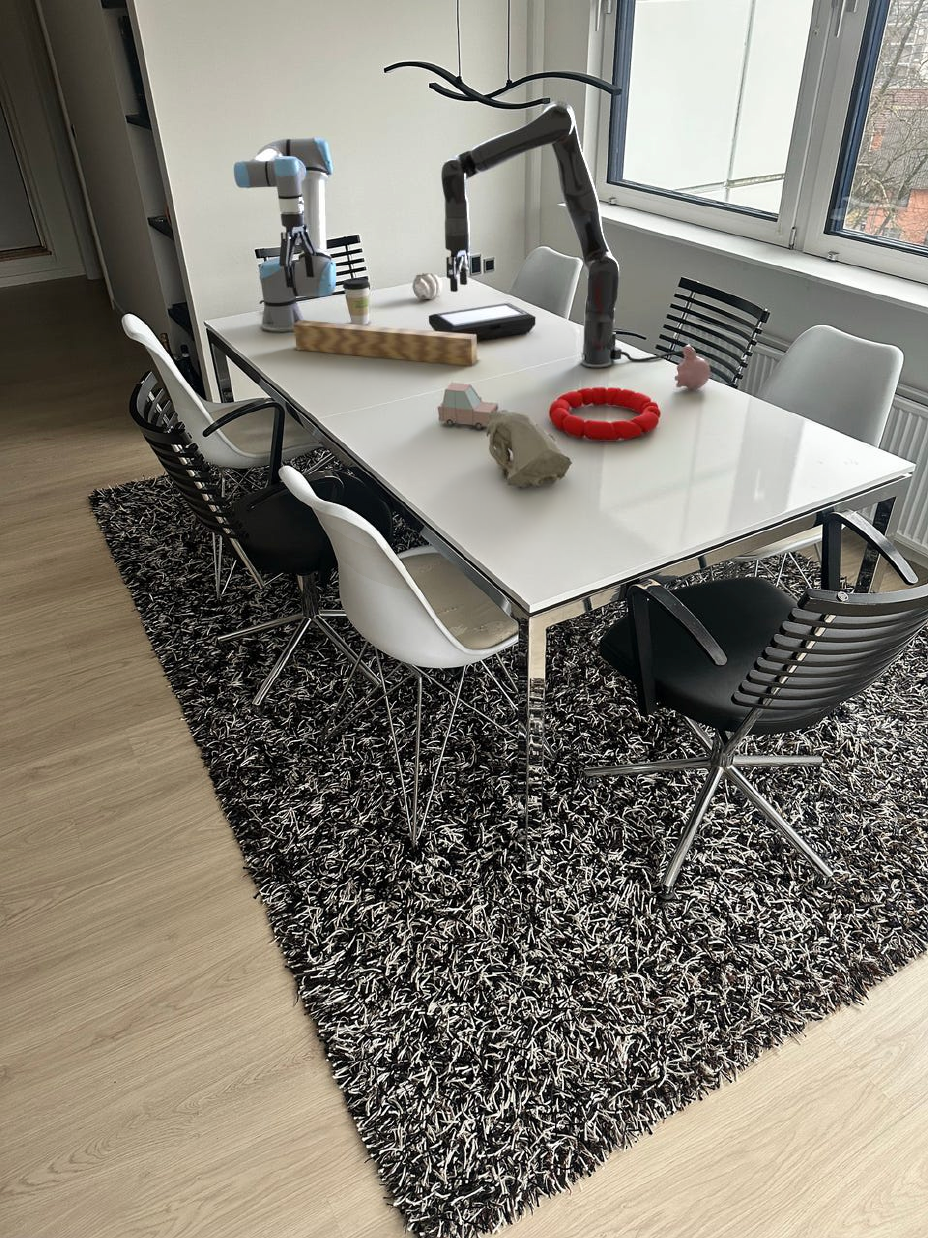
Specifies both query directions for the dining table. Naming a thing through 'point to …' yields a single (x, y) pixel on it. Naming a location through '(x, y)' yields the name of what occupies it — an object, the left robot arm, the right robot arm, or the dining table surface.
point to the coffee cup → (357, 299)
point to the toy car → (465, 406)
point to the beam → (386, 342)
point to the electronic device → (484, 321)
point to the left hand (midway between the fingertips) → (301, 282)
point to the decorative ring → (604, 428)
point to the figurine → (692, 370)
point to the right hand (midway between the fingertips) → (459, 287)
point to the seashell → (427, 286)
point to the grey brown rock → (525, 450)
